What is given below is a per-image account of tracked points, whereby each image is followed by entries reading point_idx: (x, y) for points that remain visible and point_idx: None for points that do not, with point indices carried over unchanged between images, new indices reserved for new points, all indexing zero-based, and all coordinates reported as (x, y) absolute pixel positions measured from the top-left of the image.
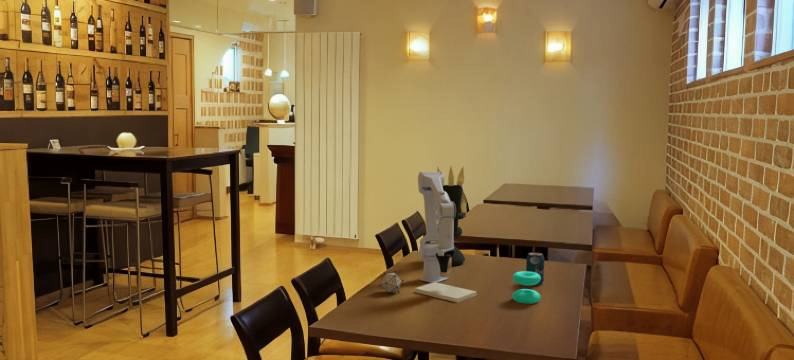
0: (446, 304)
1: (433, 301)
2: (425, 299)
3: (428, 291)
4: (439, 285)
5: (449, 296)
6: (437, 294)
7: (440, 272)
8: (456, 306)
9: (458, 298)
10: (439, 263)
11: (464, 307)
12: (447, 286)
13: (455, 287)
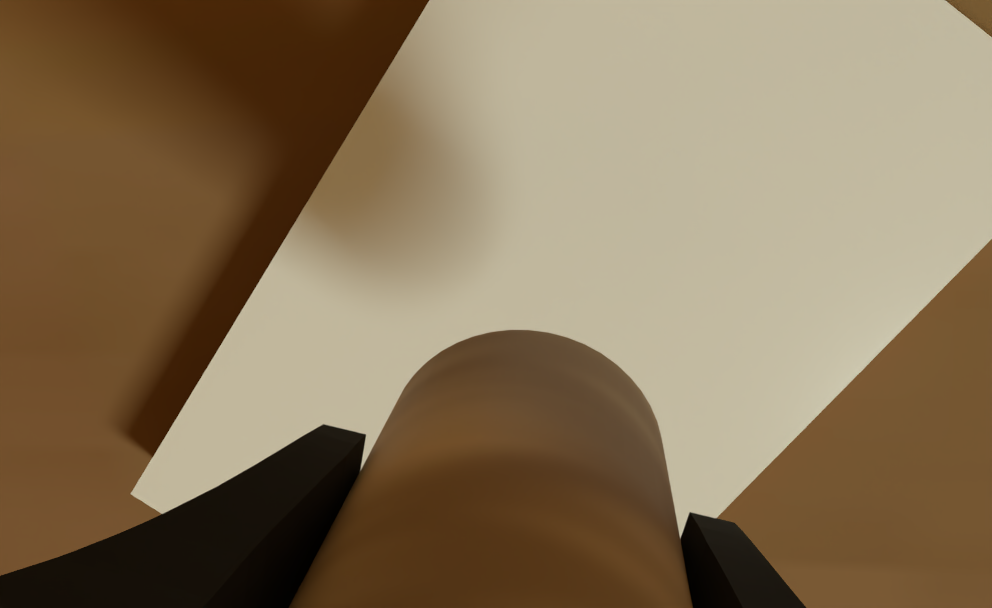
0: (48, 336)
1: (126, 155)
2: (193, 19)
3: (403, 51)
4: (832, 230)
5: (199, 397)
6: (303, 215)
7: (421, 395)
8: (9, 452)
9: (159, 506)
10: (120, 545)
11: (4, 535)
12: (765, 367)
13: (705, 486)
